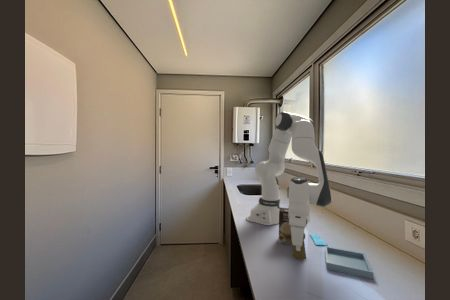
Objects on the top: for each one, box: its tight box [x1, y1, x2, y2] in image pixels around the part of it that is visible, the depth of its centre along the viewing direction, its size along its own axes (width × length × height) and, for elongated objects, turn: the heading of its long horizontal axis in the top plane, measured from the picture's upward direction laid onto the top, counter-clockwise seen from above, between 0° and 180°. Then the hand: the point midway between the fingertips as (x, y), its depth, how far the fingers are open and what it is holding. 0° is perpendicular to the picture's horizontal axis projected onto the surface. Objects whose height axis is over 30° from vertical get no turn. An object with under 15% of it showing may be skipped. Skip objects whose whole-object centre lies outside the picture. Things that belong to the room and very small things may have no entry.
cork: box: [291, 232, 307, 261], centre depth 86 cm, size 6×6×11 cm
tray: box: [324, 245, 374, 280], centre depth 81 cm, size 15×14×2 cm
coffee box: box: [278, 206, 293, 246], centre depth 100 cm, size 9×6×16 cm
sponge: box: [309, 233, 329, 247], centre depth 101 cm, size 2×12×6 cm
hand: (298, 246), depth 86 cm, fingers closed on cork, 5 cm apart
